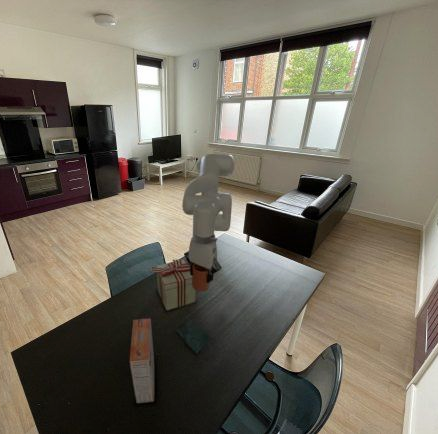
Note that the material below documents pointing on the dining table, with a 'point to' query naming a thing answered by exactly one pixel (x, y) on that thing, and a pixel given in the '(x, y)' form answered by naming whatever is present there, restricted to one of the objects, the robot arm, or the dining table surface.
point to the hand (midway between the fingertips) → (201, 277)
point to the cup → (199, 278)
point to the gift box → (175, 284)
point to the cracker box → (142, 360)
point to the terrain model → (193, 336)
